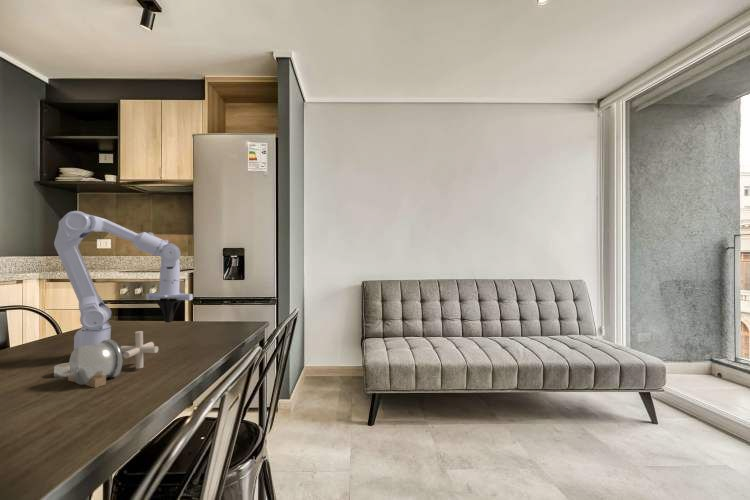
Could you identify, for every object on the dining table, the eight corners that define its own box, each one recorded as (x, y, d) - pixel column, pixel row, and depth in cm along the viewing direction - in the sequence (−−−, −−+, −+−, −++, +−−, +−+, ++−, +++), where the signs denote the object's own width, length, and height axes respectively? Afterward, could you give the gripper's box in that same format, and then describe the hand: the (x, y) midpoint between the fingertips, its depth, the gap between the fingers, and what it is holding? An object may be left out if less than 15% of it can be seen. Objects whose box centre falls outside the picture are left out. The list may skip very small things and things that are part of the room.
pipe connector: (144, 374, 97) (144, 336, 97) (108, 373, 98) (107, 336, 98) (167, 361, 107) (167, 327, 107) (135, 361, 108) (134, 327, 108)
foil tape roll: (49, 375, 95) (49, 365, 95) (72, 370, 100) (72, 360, 100) (60, 378, 93) (61, 368, 93) (83, 372, 98) (83, 363, 98)
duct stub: (66, 382, 91) (67, 343, 91) (97, 374, 98) (98, 337, 98) (93, 389, 87) (94, 348, 87) (123, 380, 93) (124, 341, 93)
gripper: (139, 280, 116) (139, 323, 116) (184, 281, 116) (183, 324, 116) (154, 279, 123) (153, 319, 123) (196, 280, 123) (195, 320, 123)
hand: (168, 321), depth 120 cm, fingers closed
